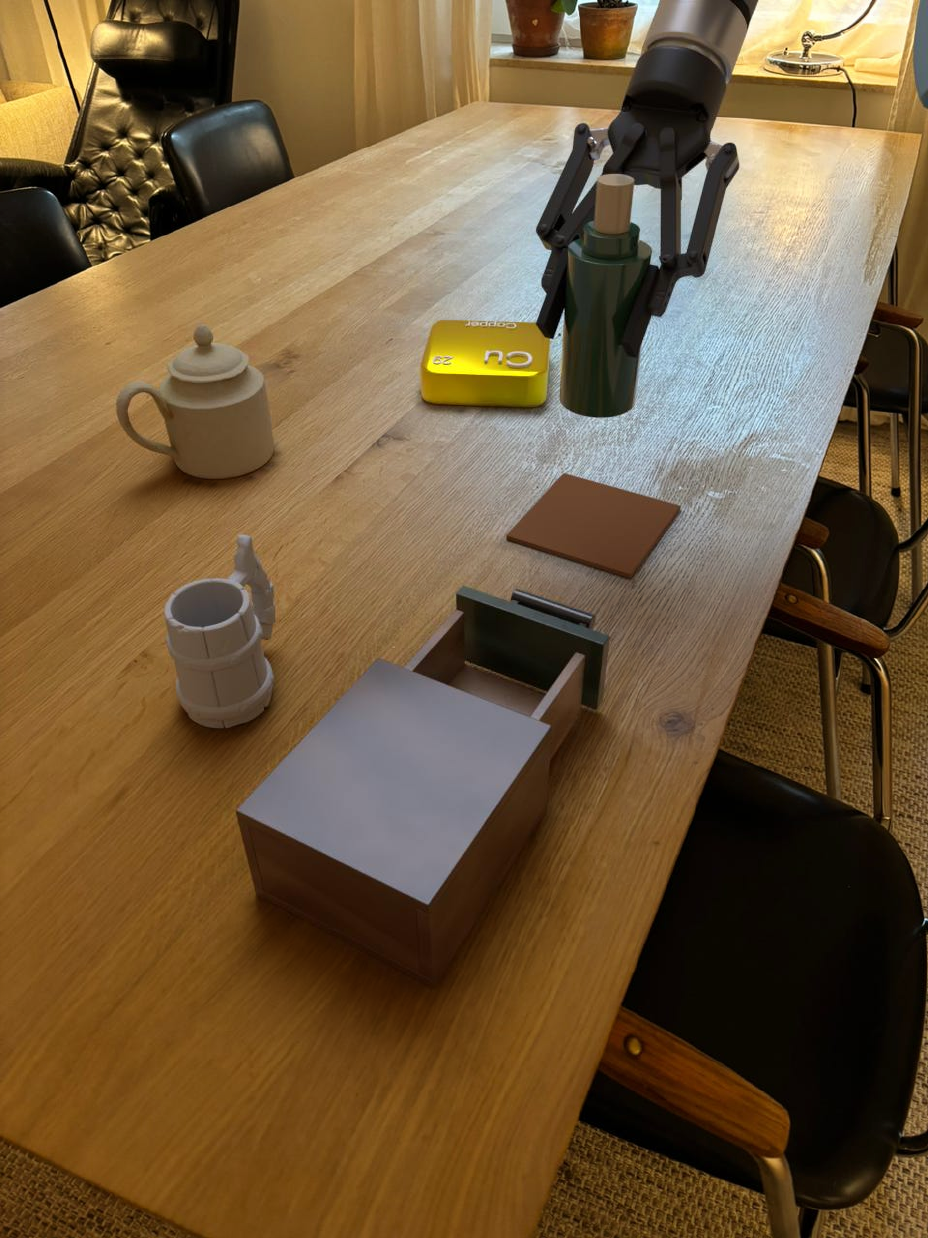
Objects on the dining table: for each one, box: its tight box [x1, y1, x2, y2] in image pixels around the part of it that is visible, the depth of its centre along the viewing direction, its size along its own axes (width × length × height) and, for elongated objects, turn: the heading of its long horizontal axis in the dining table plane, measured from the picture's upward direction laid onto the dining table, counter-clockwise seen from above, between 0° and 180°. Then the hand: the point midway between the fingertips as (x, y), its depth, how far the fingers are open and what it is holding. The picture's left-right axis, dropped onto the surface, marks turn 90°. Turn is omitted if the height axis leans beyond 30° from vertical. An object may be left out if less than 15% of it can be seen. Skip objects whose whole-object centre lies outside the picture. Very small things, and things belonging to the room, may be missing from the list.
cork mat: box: [505, 472, 681, 579], centre depth 98 cm, size 13×13×1 cm
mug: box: [163, 534, 276, 729], centre depth 78 cm, size 8×12×12 cm, turn 159°
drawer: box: [402, 585, 611, 761], centre depth 75 cm, size 19×13×7 cm
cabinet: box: [235, 657, 552, 989], centre depth 66 cm, size 16×14×9 cm
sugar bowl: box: [115, 322, 275, 480], centre depth 103 cm, size 15×11×15 cm
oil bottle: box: [558, 174, 653, 419], centre depth 80 cm, size 7×7×18 cm
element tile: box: [419, 319, 551, 409], centre depth 121 cm, size 15×15×5 cm
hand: (586, 340), depth 79 cm, fingers closed on oil bottle, 7 cm apart
